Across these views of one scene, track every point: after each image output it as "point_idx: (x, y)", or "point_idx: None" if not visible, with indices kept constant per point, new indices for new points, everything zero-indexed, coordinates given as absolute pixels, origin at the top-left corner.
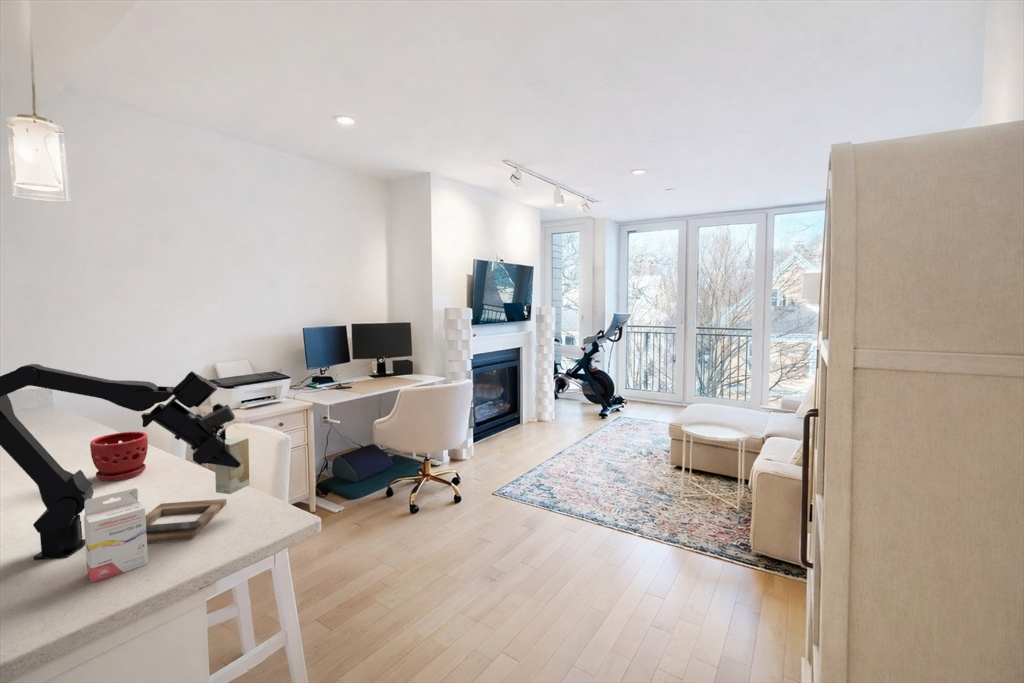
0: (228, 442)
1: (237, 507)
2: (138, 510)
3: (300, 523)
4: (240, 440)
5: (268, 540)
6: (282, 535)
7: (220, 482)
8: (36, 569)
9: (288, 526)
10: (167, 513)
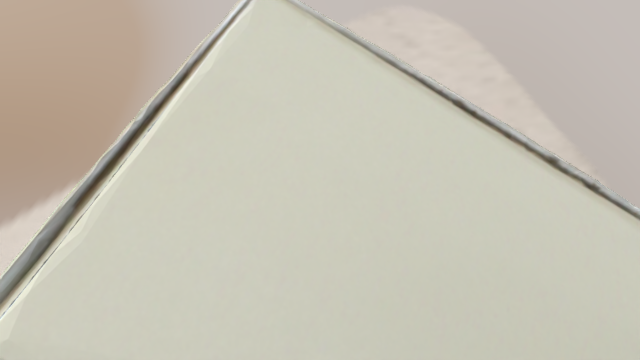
0: (621, 344)
1: None
2: None
3: (431, 31)
4: (448, 115)
5: (533, 125)
6: (507, 85)
7: None
8: None
9: (444, 69)
10: None
